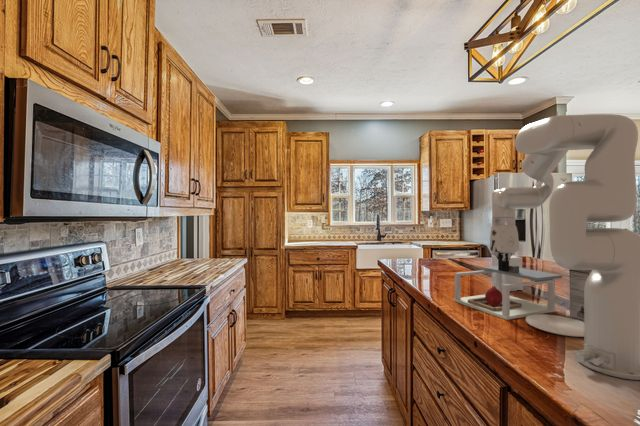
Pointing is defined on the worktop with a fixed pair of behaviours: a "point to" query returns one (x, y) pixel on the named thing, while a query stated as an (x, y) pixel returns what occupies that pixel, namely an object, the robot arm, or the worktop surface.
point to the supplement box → (508, 278)
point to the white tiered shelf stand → (507, 298)
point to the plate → (557, 324)
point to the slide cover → (524, 273)
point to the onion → (493, 296)
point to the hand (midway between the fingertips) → (503, 270)
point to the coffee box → (577, 292)
